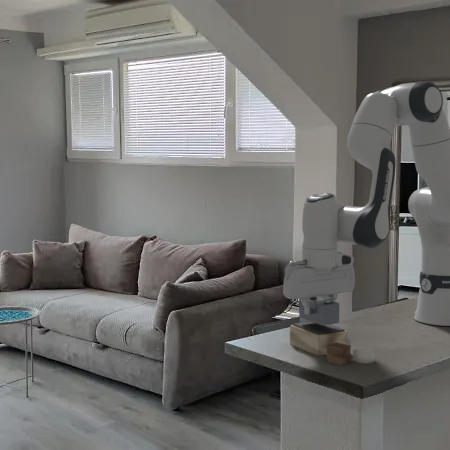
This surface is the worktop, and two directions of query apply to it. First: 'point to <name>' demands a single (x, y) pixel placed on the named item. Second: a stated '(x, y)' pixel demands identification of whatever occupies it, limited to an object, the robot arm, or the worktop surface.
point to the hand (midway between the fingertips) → (319, 312)
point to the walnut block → (338, 353)
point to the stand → (316, 336)
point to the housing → (321, 311)
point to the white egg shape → (363, 355)
